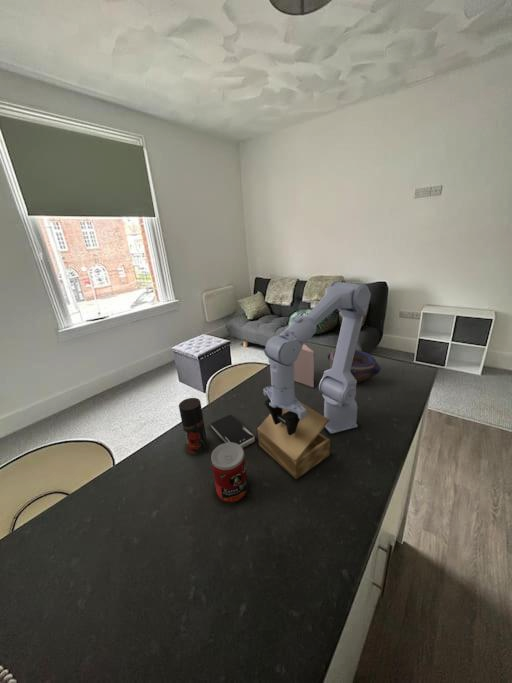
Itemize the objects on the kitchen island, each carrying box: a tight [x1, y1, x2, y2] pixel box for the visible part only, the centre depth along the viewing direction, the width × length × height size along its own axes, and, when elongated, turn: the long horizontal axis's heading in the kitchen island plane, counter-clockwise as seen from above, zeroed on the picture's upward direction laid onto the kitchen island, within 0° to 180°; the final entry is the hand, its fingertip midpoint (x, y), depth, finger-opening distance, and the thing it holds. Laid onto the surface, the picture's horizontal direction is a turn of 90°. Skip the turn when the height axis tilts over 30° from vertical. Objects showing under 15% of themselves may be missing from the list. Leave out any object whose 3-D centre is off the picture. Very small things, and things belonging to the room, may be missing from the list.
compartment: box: [257, 429, 331, 480], centre depth 78 cm, size 13×16×5 cm
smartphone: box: [210, 414, 256, 449], centre depth 87 cm, size 8×1×15 cm
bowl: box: [327, 349, 381, 384], centre depth 112 cm, size 18×18×10 cm
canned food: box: [210, 442, 248, 504], centre depth 66 cm, size 8×8×11 cm
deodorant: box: [178, 397, 208, 455], centre depth 80 cm, size 6×6×15 cm
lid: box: [256, 401, 329, 462], centre depth 74 cm, size 13×16×5 cm
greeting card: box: [294, 343, 316, 388], centre depth 111 cm, size 11×7×15 cm, turn 13°
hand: (284, 427), depth 74 cm, fingers closed on lid, 5 cm apart
